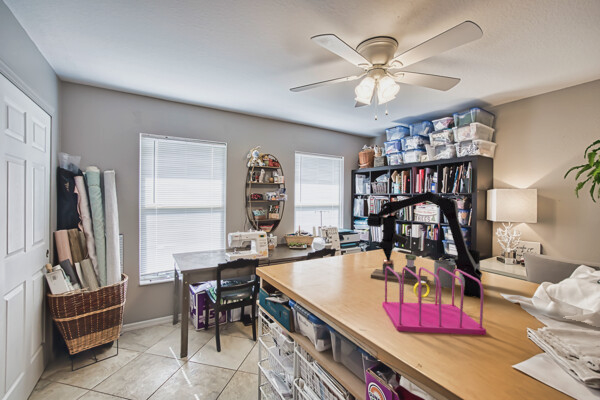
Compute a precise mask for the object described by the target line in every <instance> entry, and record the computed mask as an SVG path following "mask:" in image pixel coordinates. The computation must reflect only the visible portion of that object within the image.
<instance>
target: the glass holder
mask: <svg viewBox="0 0 600 400" xmlns="http://www.w3.org/2000/svg"><path fill="white" fill-rule="evenodd" d="M468 252H469V253H470V255H471V256H472V258H473V260H474V262H475V264H476V267H477V269H479V270H480V269H481V261H480V256H481V255H480V253H481V252H480V250H475V249H468ZM480 271H481V270H480ZM458 272H459V271H458ZM458 277H459V278H460V279H461V280H462V282H463V285H464V284H465V279H464V276H463V275H462V274H461V273H460V272H459V273H458ZM457 283H458V284H459V285H461V283H460V281H459V280H458V281H457Z"/></svg>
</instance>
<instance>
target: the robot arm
mask: <svg viewBox="0 0 600 400" xmlns="http://www.w3.org/2000/svg"><path fill="white" fill-rule="evenodd" d="M425 202H430V203H431V204H434V205H436V206H438V207H439V208H440V210H441V212H442V214H443V216H444V217H445V218H446V220H447V222H448V227H449V230H450V232H451V237H452V240H453V243H454V247H455V250H456V255H457V256H456V257H455V258H454V259H453V261H454V263H455V264H456V269H459V270H461V271H463V272H465V273H467V274H469V275H471V276H473V277H474V278H476V279H478V280H479V281H480V282H481V283H482V277H483V272H481V270H479V269H477V267H476V264H475V262H474V260H473V258H472V256H471V255H470V253H469V252H468V250H469V249H468V246H467V242H466V240H465V236H464V233H463V228H462V227H461V223H460V220H459V205H458V202H457V200H455V199H454V198H450V197H448V198H447V197H444V196H441V195H439V194H436V193H434V192H433V191H426V192H423V193H420V194H416V195H415V196H411V197H408V198H404V199H401V200H394V201H393V200H392V201H386V202H383V204H382V206H381V209H380V210H379V212H378V213H374V212H369V213H368V217H367V220H366V223H367V226H368V227H374V228H381V227H382V230H381V233H382V238H381V241H380V242H378V248H380V249H382V251H383V253H384V256H385V259H387V260H390V259H391V256H392V254H393V250H394V249H395V248H396V247H397V245H398V244H401V245H402V246H406V244H407V243H408V240H409V238H408V237H407V233H402V234H399V233H398V231H397V228H396V225H397V224H396V223H397V221H396V220H400V219H401V217H400V216H399V215H398V213H397V212H400V211H401V210H403V209H406V208H409V207H412V206H416V205H419V204H422V203H425ZM395 244H397V245H395ZM460 273H461V272H460ZM461 274H462V275H463V276H464V279H465V284H464V296H466V297H472V298H473V297H474V298H479V299H481V288H480V285H479V283H478V282H477V281H476V280H474V279H472V278H470V277H468V276H466V275H464V274H463V273H461Z"/></svg>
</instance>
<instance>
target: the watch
mask: <svg viewBox="0 0 600 400" xmlns="http://www.w3.org/2000/svg"><path fill="white" fill-rule="evenodd" d="M421 284H422V285H425V284H426V282H424V281H421ZM417 289H418V283H416V284H415V285H413V293H414V294H415V296H417V297H418V292H417ZM430 292H431V288H430V286H429V285H428V283H427V284H426V292H425V294H422V298H427V297H428V296H429V295H430Z"/></svg>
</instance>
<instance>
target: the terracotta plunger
mask: <svg viewBox="0 0 600 400" xmlns="http://www.w3.org/2000/svg"><path fill="white" fill-rule="evenodd" d="M383 263H384V264H387V265H392V264H393V263H394V260H393V259H391V258H390V260H387V258H384V259H383V262H382V264H383Z"/></svg>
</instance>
